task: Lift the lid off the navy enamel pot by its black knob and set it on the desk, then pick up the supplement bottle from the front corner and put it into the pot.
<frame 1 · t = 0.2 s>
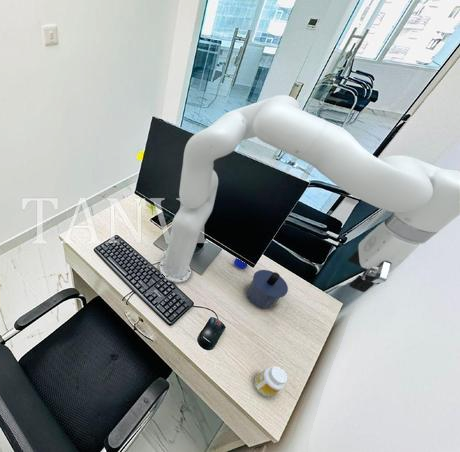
hand: (355, 275, 65), 31 cm above the table, tool pointing down, fingers open, 9 cm apart
beverage can: (239, 265, 106), on the table
pot: (259, 296, 95), on the table
lid: (269, 283, 90), point 8 cm above the table, touching pot
supplement bottle: (263, 386, 73), on the table
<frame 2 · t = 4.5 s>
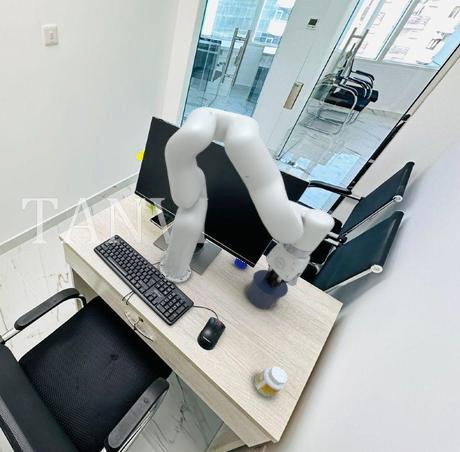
hand: (271, 281, 89), 10 cm above the table, tool pointing down, fingers closed on lid, 2 cm apart
lid: (269, 283, 90), point 9 cm above the table, touching gripper
everything else where it was.
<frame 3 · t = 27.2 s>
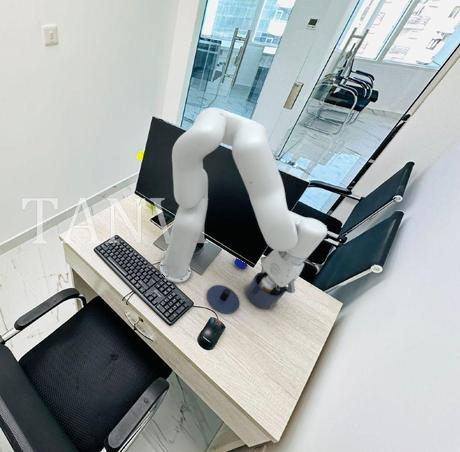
hand: (267, 286, 91), 7 cm above the table, tool pointing down, fingers closed on supplement bottle, 5 cm apart
lid: (222, 299, 93), point 1 cm above the table
supplement bottle: (261, 294, 94), point 2 cm above the table, touching gripper
everything else where it was.
when the fingers open (8 cm above the table, at t = 36.0 s): supplement bottle drops 3 cm, resting on pot.
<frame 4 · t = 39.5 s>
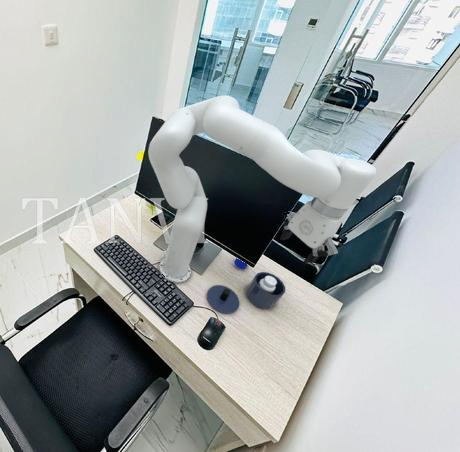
hand: (295, 250, 78), 26 cm above the table, tool pointing down, fingers open, 9 cm apart
supplement bottle: (259, 295, 95), resting on pot
everything else where it was.
at the end: lid inside the target area (0.3 cm from its centre), point 0.6 cm above the table; supplement bottle 0.3 cm off-centre in the pot, point 0.3 cm above the pot's base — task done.
